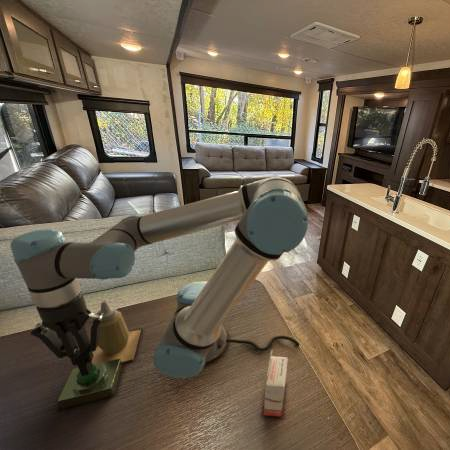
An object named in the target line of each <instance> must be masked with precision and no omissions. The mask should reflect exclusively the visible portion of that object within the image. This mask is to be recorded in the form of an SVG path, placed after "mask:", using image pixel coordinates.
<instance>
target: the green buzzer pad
mask: <svg viewBox="0 0 450 450" xmlns="http://www.w3.org/2000/svg"><path fill="white" fill-rule="evenodd" d="M93 365H94V366H96V367H97V370H98V376H97V378H96V379H95V380H94V381H92V382H90V383H89V384H86V385H81V384H79V382H78V379H77V374H78V373H79V371H80V370H79V368H78V367H74V368H72V371H71V372H70V375H69V376H68V379H67V380H66V383H65V385H64V387H63V389H62V391H61V393H60V395H59V397H58V400H57V404H58V406H59V407H60V409H66V408H69V407H73V406H77V405H80V404H85V403H89V402H92V401H93V402H94V401H97V400H100V399H104V398H108V397H113V396H114V395H115V392H116V388H117V385H118V382H119V379H120V375H121V371H122V368H123V363H122V362H121V359H116V360H111V361H107V362H102V363H97V364H93Z"/></svg>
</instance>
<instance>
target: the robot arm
mask: <svg viewBox="0 0 450 450" xmlns="http://www.w3.org/2000/svg"><path fill="white" fill-rule="evenodd" d="M308 216H309V215H308V210H307V206H306V204H305V202H304V200H303V199H302V196H301V193H300V190H299V189H298V187H297V186H296V185H295V184H294V182H292V181H291V180H289V179H287V178H284V177H280V176H279V177H278V176H272V177H267V178H264V179H260V180H257V181H254V182H250V183H247V184H243V185H240V187H239V189H238V190H236V191H232V192H228V193H224V194H220V195H217V196H213V197H209V198H206V199H202V200H197V201H194V202H190V203H186V204H184V205H183V204H182V205H178V206H175V207H171V208H168V209H164V210H160V211H157V212H153V213H152V212H151V213H148V214H144V215H141V214H132V215H129V216H128V217H124V218H122V219H121V220H120V221H119V222H118V223H116V224H115V225H114V226H112V227H111V228H109V229H107V231H104V233H102V234H100V236H98V237H96V238H95V239H93V240H92V241H88V242H86V241H85V242H82V241H81V242H80V241H79V242H77V241H76V242H75V241H66V237H64V235H63V233H62V232H61V231H59V230H56V229H38V230H32V231H28V232H25V233H23V234H20V235H18V236H16V237H15V238H13V239H12V240H11V242H10V244H9V245H10V250H11V253H12V256H13V259H14V260H13V261H14V263H16V266H17V268H18V270H19V272H20V275H21V276H22V279H23V281H24V283H25V285H26V288H27V290H28V292H29V295H30V297H31V299H32V302H33V304H34V306H35V308H36V310H37V313H38V316H39V318H40V320H41V322H38V323H36V325H35V327H33V328H32V330H31V331H30V335H32V336H34V337H35V338H38V339H39V340H40V341H41V342H42V343H43V344H44V345H45V346H46V347H47V348H48V349H49V350H50V352H52V353H53V354H54V355H55V356H56V358H58V359H63V358H64V357H67V358H69V359H70V362H71V364H72V366H77V368H79V370H80V373H81V375H82V376H85V375H89V373H90V371H91V369H92V366H93V364H92V359H93V357H94V355H93V352H92V351H95V350H96V348H97V346H98V343H99V337H100V323H101V320H102V318H103V316H104V314H103V313H99V314H98V315H97V313H96V314H95V313H92V311H91V310H90V309H89V308H88V307H87V303H86V299H85V297H84V294H83V292H82V289H81V285H80V283H79V279H86V280H87V279H89V280H90V279H91V280H102V281H103V280H109V279H122V278H125V277H127V276H128V275H130V273H131V272H132V270H133V267H134V266H135V262H136V253H135V252H136V251H137V250H138V249H139V248H141V247H146V246H149V245H152V244H156V243H160V242H164V241H168V240H171V239H176V238H179V237H182V236H187V235H191V234H194V233H198V232H202V231H206V230H210V229H213V228H218V227H221V226H225V225H229V224H232V223H237V222H238V223H237V224H236V226H235V228H234V236H235V238H236V239H235V240H234V242H233V243H232V244H231V246H230V248H229V249H228V251H227V252H226V253H225V255H224V257H223V258H222V260H221V261H220V262H219V264H218V265H217V267H216V268H215V270H214V271H213V273H212V274H211V276H210V277H209V278H208V280H207V281H202V280H201V281H194V282H191V283H188V284H186V285H184V286H182V287H181V288H180V289H179V290H178V291H177V295H176V301H177V307H176V310H175V312H174V313H173V316H172V318H171V320H170V322H169V324H168V326H167V327H166V329H165V331H164V333H163V335H162V337H161V340H160V342H159V343H158V346H157V347H156V348H155V353H154V354H153V358H152V362H153V366H154V368H156V369H157V371H158V372H160V373H161V374H162V375H165V376H167V377H171V378H174V379H188V378H193V377H195V376H197V375H198V374H200V373H201V372H202V371H203V369H204V366H205V365H206V364H209V363H211V362H213V361H215V360H216V359H218V358H219V357H220V356H221V355H222V354H223V353H224V352H225V350H226V349H227V346H228V343H233V344H246V345H250V346H252V347H253V348H254V349H256V350H257V351H259V352H265V351H267V350H269V349H270V348H271V347H272V344H273V343H274V342H275V341H276V340H287V341H290V342H292V343H293V344H294V345H296V346H300V345H301V344H300V343H299V342H298V341H297V340H296V339H295V338H293V337H291V336H287V335H277V336H274V337H273V338H271V339H270V340H269V341H268V343H267V345H266V346H265V347H260V346H259V345H258V344H256V343H255V342H253V341H250V340H247V339H246V340H245V339H233V338H228V334H227V330H226V329H225V327H224V326H223V323H224V321H225V320H226V318H228V316H229V315H230V314H231V312H232V311H233V309H234V308H235V307H236V306H237V304H238V303H239V301H240V300H241V299H242V297H243V296H244V295H245V294H246V292H247V291H248V289H249V288H250V287H251V286H252V284H253V283H254V282H255V280H256V278H257V277H258V276H259V275H260V273H261V272H262V270H263V269H264V268H265V266H266V265H267V264H268V263H269V262H271V261H272V262H273V261H278V260H279V259H280V258H281V257H282V255H283V254H284V253H289V252H292V251H293V250H295V249H296V248H297V247H298V246H299V245H300V244H301V243H302V242H303V240H304V238H305V237H306V235H307V231H308V226H309V217H308ZM88 321H89V324H90V326H91V327H90V338H89V335H88V332H87V330H86V323H87V322H88Z"/></svg>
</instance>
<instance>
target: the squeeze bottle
mask: <svg viewBox="0 0 450 450" xmlns="http://www.w3.org/2000/svg"><path fill="white" fill-rule="evenodd" d="M99 313H103V314H104V316H103V318H102V320H101V323H100V337H99V343H98V347H99V348H100V349H102V350H103V351H104V352H105V353H107V354H115V353H118V352H120V351H121V350H123V349H124V348H125V347H126V345H127V342H128V338H129V332H130V331H129V329H128V326H127V323H126V322H125V319H124V316H123V314H122V312H121V311H119V310H117V307H116V306H113V305H112V306H111V305H110V304H109V303H108V301H107V300H105V299H104V300H102V301H101V302H100V309H99V310H98V311H97V313H96V315H98V314H99Z"/></svg>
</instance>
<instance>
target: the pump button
mask: <svg viewBox="0 0 450 450" xmlns="http://www.w3.org/2000/svg"><path fill="white" fill-rule="evenodd" d="M97 376H98V370H97V367H96V366H94V365H93V366H92V369H91V371H90V373H89V375H85V376H82V375H81V373H80V371H79V373H78V374H77V379H78V382H79V384H81V385H86V384H89V383H90V382H92V381H94V380H95V379H96V378H97Z"/></svg>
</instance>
